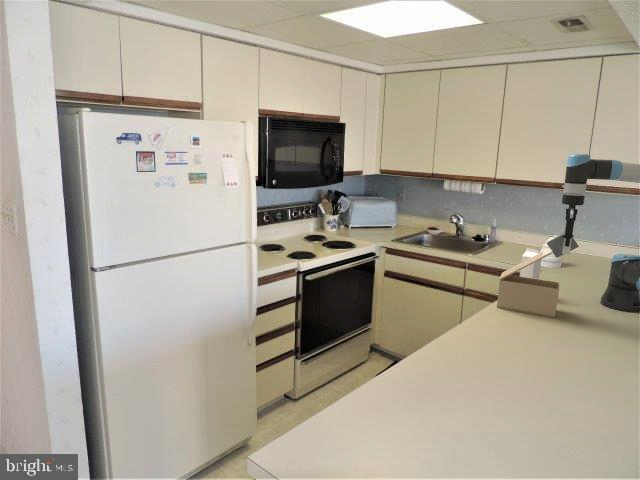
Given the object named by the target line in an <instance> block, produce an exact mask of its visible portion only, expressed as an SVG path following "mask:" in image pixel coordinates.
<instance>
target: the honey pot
mask: <svg viewBox="0 0 640 480" xmlns="http://www.w3.org/2000/svg"><path fill="white" fill-rule="evenodd" d="M558 236H559V235H555V234H554V235H553V236H551V237H549V238H548V239H547V240H546V241H545V242H544V243H543V244H542V245H541V246H542V247H541V249H540V250H539V253H541V252H543V251H544V250H546V249H548V248H549V246H548V245H547V242H548V241H550V240H552V239H554V238H556V237H558ZM562 261H563V257H562V256H560V257H558V258H556V256H555V255H554V254H553V252H552V254H551V255H549V256H547V257H545V258H543V259H541V266H540V267H544V268H548V269H549V268H551V269H560V268H562V263H563V262H562Z"/></svg>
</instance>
